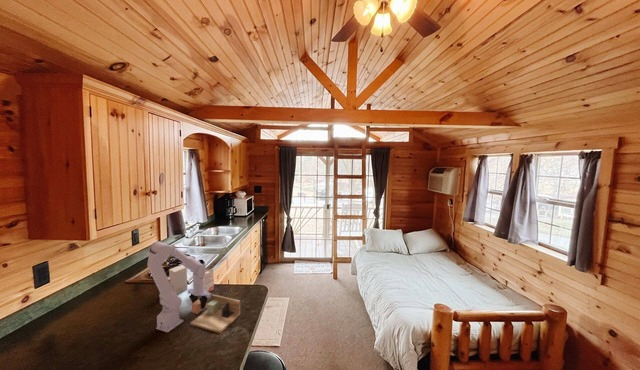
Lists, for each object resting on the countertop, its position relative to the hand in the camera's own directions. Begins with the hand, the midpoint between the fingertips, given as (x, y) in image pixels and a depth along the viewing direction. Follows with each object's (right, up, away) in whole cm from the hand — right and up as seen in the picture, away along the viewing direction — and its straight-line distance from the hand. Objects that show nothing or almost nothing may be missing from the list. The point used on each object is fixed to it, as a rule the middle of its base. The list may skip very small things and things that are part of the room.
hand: (199, 307), depth 140 cm
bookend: (+18, -1, -6) cm, 19 cm away
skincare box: (-23, +1, +19) cm, 30 cm away
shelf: (+13, -2, -8) cm, 16 cm away
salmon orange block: (0, -2, 0) cm, 2 cm away
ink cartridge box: (-6, 0, +20) cm, 21 cm away
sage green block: (+9, -1, -3) cm, 10 cm away
